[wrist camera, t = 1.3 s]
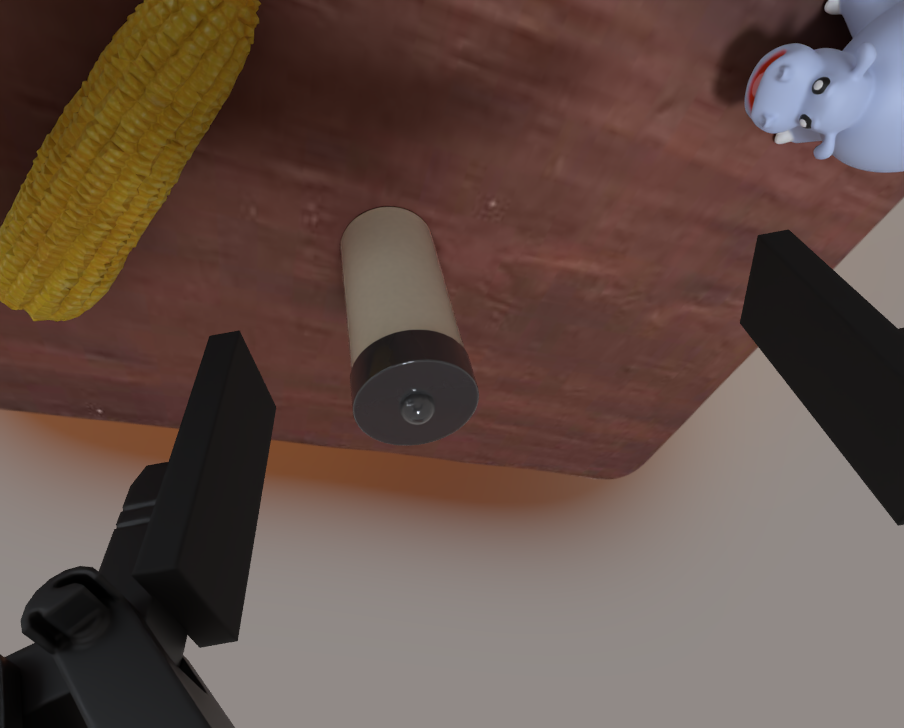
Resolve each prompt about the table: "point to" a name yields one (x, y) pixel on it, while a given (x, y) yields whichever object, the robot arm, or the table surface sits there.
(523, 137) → the table surface
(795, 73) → the hippopotamus toy
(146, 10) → the food
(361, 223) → the pepper mill
